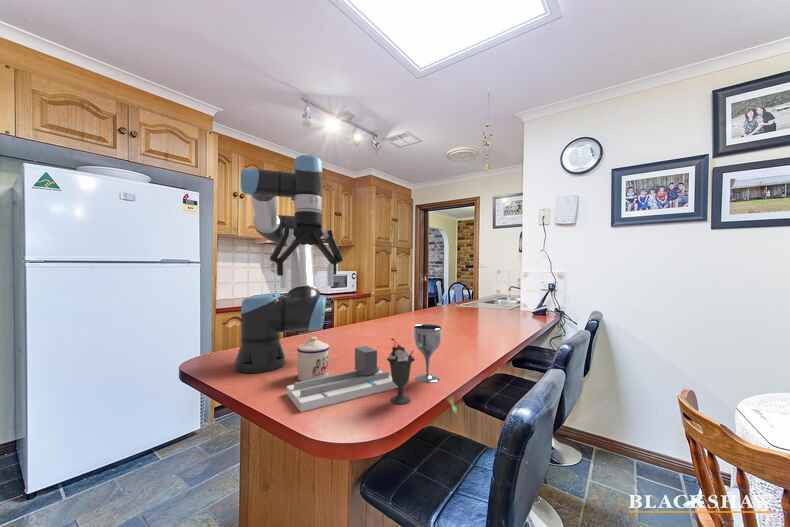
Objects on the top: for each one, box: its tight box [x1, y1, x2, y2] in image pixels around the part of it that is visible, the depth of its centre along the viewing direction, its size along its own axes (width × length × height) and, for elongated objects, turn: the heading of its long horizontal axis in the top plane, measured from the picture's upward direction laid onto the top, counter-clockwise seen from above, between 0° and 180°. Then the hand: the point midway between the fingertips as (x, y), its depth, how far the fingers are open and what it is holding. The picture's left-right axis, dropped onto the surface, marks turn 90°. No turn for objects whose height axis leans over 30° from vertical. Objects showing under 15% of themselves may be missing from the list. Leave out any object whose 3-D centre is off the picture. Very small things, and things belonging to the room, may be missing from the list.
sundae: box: [386, 338, 416, 406], centre depth 77 cm, size 7×7×15 cm
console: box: [286, 365, 398, 413], centre depth 83 cm, size 12×26×4 cm, turn 123°
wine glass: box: [413, 323, 442, 384], centre depth 92 cm, size 8×8×15 cm
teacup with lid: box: [297, 336, 331, 381], centre depth 94 cm, size 12×9×12 cm
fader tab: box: [354, 345, 378, 377], centre depth 86 cm, size 6×4×8 cm, turn 33°
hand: (307, 287), depth 90 cm, fingers open, 13 cm apart
